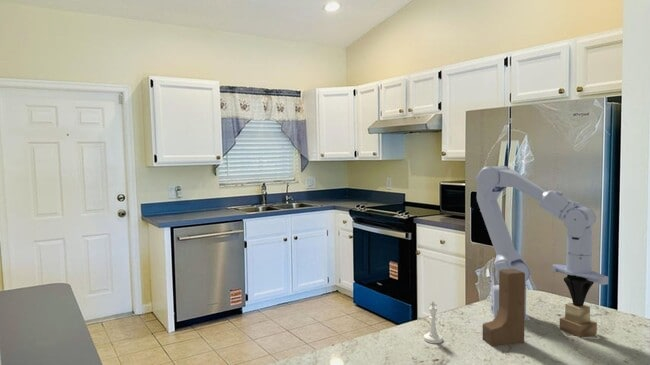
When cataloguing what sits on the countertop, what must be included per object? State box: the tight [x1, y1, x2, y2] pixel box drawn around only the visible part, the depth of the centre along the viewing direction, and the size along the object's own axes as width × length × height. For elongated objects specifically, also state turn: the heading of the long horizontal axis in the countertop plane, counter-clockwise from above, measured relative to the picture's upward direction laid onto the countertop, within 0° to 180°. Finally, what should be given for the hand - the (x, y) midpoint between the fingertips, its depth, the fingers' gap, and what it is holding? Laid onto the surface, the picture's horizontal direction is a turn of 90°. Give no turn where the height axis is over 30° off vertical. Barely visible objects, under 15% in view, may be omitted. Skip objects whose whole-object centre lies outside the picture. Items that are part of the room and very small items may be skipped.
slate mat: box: [555, 324, 602, 340], centre depth 116 cm, size 15×11×1 cm
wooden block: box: [482, 269, 526, 347], centre depth 111 cm, size 9×4×18 cm, turn 101°
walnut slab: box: [559, 316, 598, 339], centre depth 116 cm, size 6×6×3 cm
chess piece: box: [422, 300, 444, 344], centre depth 114 cm, size 5×5×10 cm
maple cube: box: [564, 302, 591, 324], centre depth 116 cm, size 4×4×4 cm
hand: (578, 305), depth 116 cm, fingers closed
